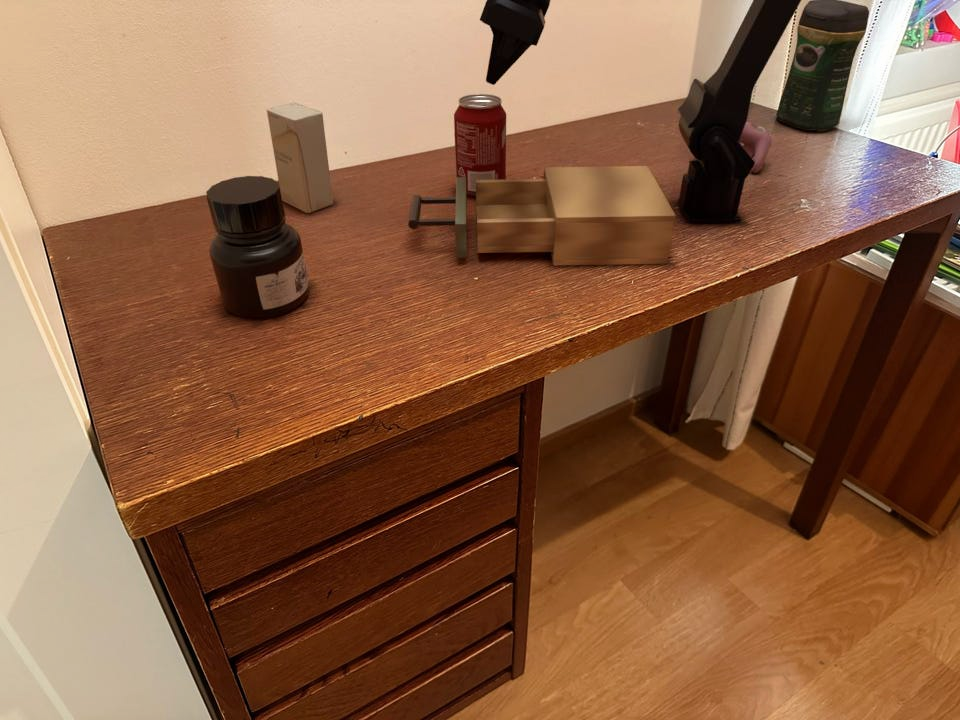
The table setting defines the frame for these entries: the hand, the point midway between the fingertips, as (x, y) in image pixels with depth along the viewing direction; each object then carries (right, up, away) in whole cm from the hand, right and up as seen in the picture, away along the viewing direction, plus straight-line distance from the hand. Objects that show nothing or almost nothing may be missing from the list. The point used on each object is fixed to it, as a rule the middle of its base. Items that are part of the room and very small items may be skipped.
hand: (490, 82), depth 80 cm
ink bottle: (-24, -26, -7) cm, 36 cm away
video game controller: (+36, -3, +22) cm, 42 cm away
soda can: (-1, -9, +15) cm, 18 cm away
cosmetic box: (-24, -11, +12) cm, 29 cm away
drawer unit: (+13, -17, +3) cm, 22 cm away
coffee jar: (+54, +7, +36) cm, 65 cm away
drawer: (-1, -17, +3) cm, 17 cm away
